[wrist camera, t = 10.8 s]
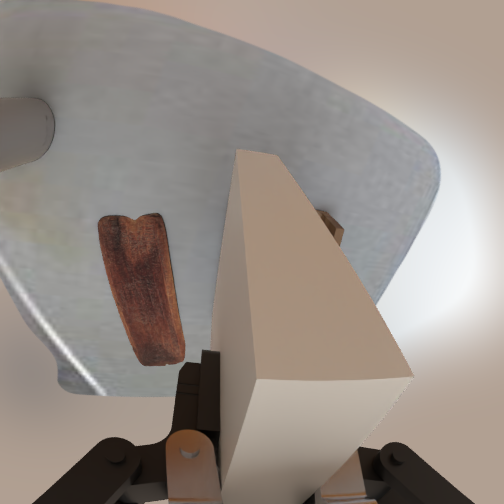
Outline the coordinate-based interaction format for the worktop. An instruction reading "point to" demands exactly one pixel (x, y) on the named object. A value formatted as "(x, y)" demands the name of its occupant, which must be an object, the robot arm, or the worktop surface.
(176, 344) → the wooden tablet
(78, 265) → the worktop surface
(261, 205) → the cutting board
